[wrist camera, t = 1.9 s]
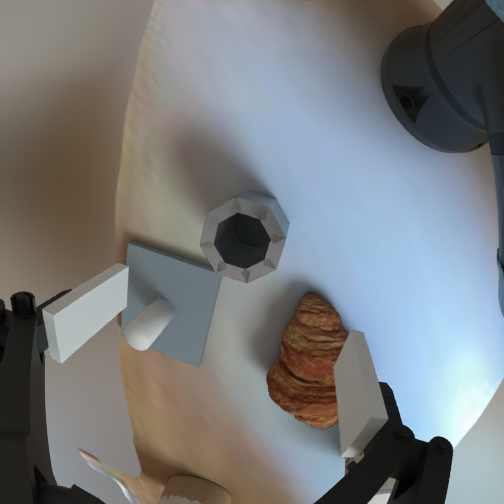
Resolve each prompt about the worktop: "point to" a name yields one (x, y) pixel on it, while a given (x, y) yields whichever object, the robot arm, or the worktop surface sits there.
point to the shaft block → (168, 303)
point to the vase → (193, 491)
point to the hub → (239, 255)
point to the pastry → (309, 363)
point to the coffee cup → (383, 494)
